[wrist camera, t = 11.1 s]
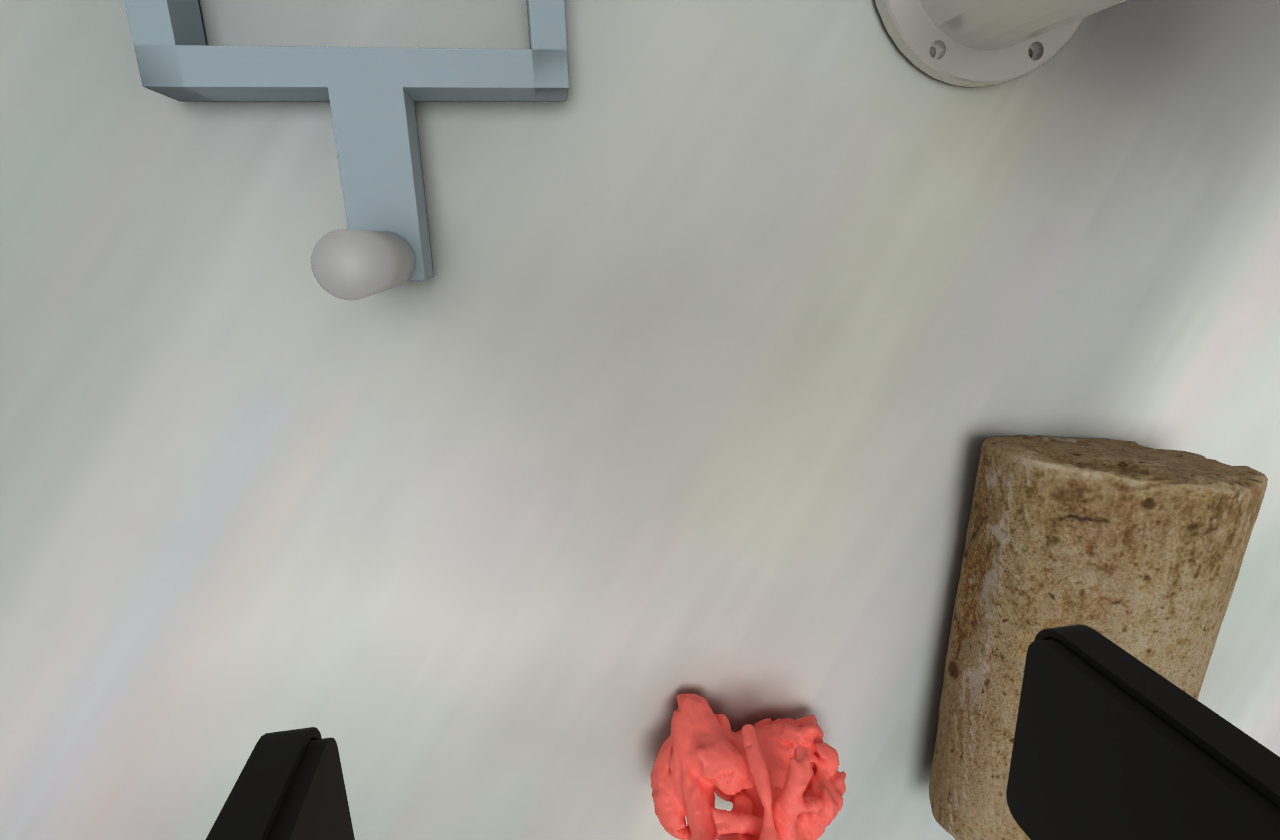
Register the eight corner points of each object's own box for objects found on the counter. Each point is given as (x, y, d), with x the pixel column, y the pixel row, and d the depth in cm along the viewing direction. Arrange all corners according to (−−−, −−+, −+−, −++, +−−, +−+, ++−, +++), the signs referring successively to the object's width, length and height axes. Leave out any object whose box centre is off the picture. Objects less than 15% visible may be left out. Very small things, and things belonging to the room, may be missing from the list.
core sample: (903, 778, 48) (997, 912, 38) (953, 423, 41) (1083, 480, 31) (1074, 755, 50) (1204, 877, 41) (1150, 416, 43) (1327, 467, 34)
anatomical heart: (810, 723, 47) (895, 910, 37) (644, 764, 46) (686, 969, 36) (814, 639, 42) (913, 827, 32) (629, 682, 41) (674, 891, 31)
